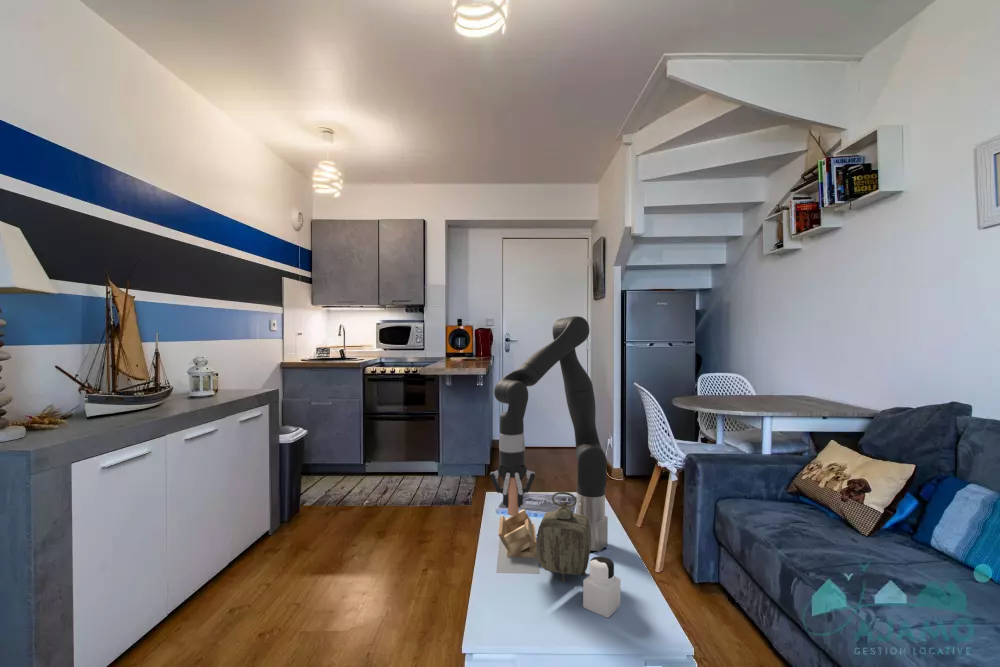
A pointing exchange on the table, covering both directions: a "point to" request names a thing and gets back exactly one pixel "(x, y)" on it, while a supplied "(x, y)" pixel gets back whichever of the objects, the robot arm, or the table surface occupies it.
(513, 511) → the peg
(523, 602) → the table surface
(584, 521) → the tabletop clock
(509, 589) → the table surface
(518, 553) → the socket
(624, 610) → the table surface
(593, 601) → the white blocky bust
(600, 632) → the table surface
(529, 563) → the board
